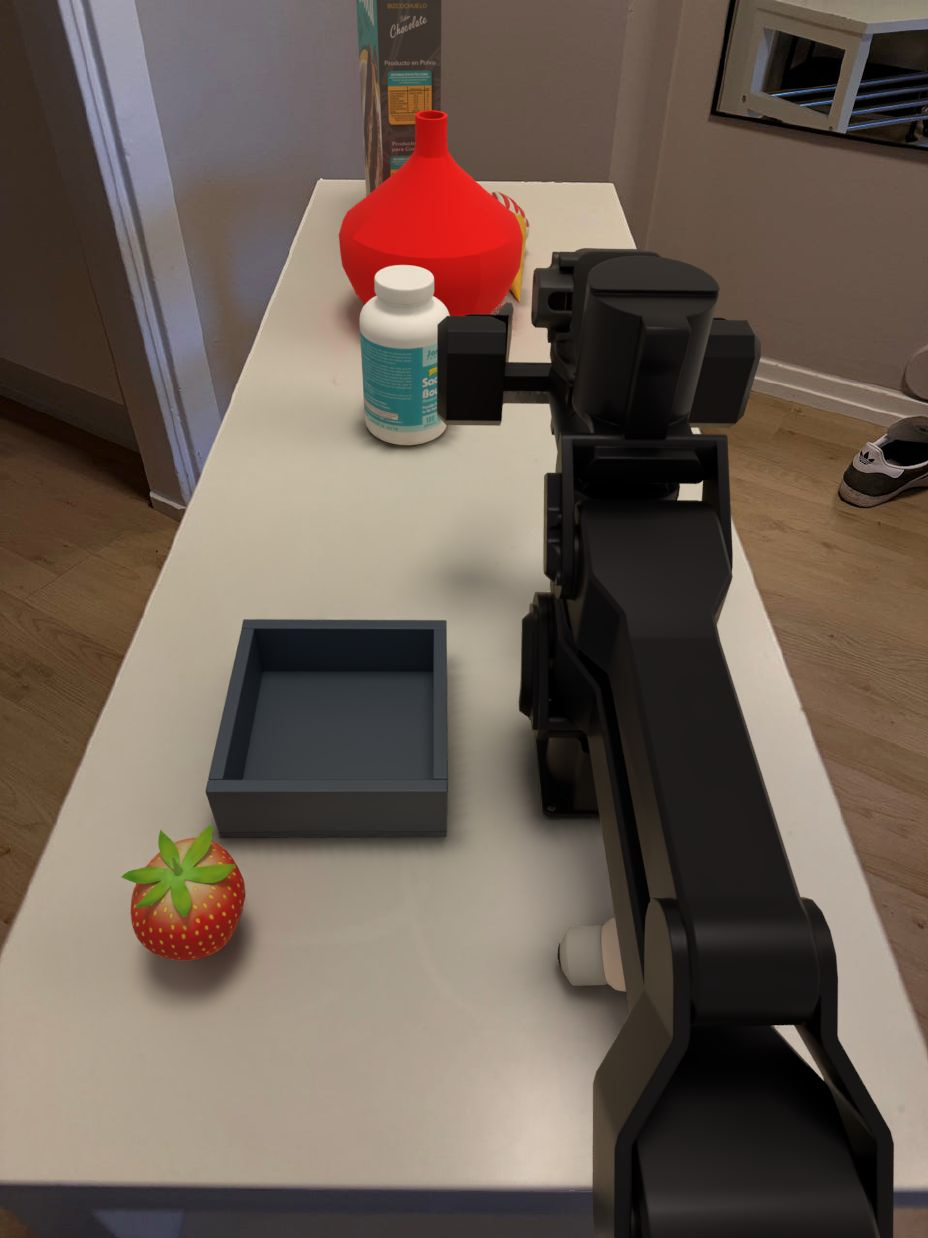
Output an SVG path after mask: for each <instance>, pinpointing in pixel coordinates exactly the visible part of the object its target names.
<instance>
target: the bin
mask: <svg viewBox="0 0 928 1238" xmlns="http://www.w3.org/2000/svg"><path fill="white" fill-rule="evenodd" d="M447 625H448V624H447V620H446V619H291V618H290V619H282V618H281V619H280V618H279V619H277V618H275V619H271V618H270V619H269V618H267V619H265V618H264V619H263V618H262V619H261V618H259V619H257V618H251V619H249V618H244V619H243V620H242V624H241V629H240V633H239V638H238V642H237V648H236V651H235V656H234V661H233V665H232V668H231V669H232V670H231V674H230V678H229V683H228V687H227V692H226V696H225V701H224V706H223V710H222V715H221V719H220V722H219V723H220V724H219V727H218V731H217V732H218V733H217V737H216V742H215V744H214V745H215V747H214V749H213V754H212V759H211V765H210V768H209V773H208V777H207V779H208V780H207V783H206V787H205V796H206V798H207V801H208V804H209V807H210V810H211V813H212V816H213V819H214V823H215V825H216V828H217V831H218V835H219V838H315V837H316V838H337V837H338V838H349V837H350V838H351V837H352V838H354V837H357V838H359V837H361V838H365V837H367V838H368V837H369V838H371V837H373V838H375V837H377V838H378V837H383V838H385V837H387V838H388V837H391V838H392V837H447V836H448V805H449V804H448V802H449V799H448V798H449V772H448V771H449V770H448V769H449V764H448V763H449V761H448V760H449V758H448V757H449V756H448V750H449V749H448V649H447V648H448V639H447V637H448V635H447V634H448V629H447V628H448V627H447Z"/></svg>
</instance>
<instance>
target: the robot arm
mask: <svg viewBox="0 0 928 1238" xmlns="http://www.w3.org/2000/svg"><path fill="white" fill-rule="evenodd" d="M720 288H721V287H720V286H719V283H718V282H717V280H716V279H715V278H714V277H713V275H711V274H710V273H708V272H706V271H705V270H704V269H702V268H699V267H697V266H696V265H693V264H690V263H688V262H685V261H681V260H678V259H672V258H668V257H663V256H661V254H659V253H657V252H655V251H650V250H645V249H640V248H596V247H583V248H579V249H576V250H574V251H552V254H551V262H550V265H549V266H547V267H536V268H535V269H534V270H533V274H532V288H531V309H530V310H531V311H530V318H531V319H530V320H531V321H530V322H531V325H532V326H533V327H534V328H536V329H538V328H539V329H546V331H547V333H546V334H547V335H546V337H547V343H548V344H550V349H549V359H550V362H536V361H535V362H534V361H533V362H531V361H530V362H528V361H527V362H526V361H509V360H510V354H511V353H510V352H511V343H512V335H513V323H514V322H513V321H514V305H513V303H512V302H505V303H504V304H503V306H502V307H501V308H500V309H499V311H497V312H496V313H491V314H467V315H465V316H446V317H445V318H444V319H443V320H442V321H441V322H440V323H439V324H438V325H437V416H438V417H439V418H440V419H441V420H442V421H443V422H444V423H445V424H446V425H447V426H486V427H487V426H490V427H491V426H496V427H497V426H498V427H500V426H501V425H502V422H503V408H504V407H503V406H504V405H505V404H512V405H513V404H519V405H522V404H525V405H527V404H530V405H548V406H549V411H550V416H551V417H550V425H549V426H550V433H551V436H554V440H555V447H556V461H555V469H554V470H555V471H554V472H546V473H545V474H544V475H543V536H542V537H543V544H542V546H543V547H542V549H543V550H542V551H543V553H542V555H543V556H542V566H543V567H542V568H543V574H544V575H545V577H546V578H547V579H548V580H549V588H550V591H535V592H534V593H533V598H532V603H531V602H530V603H529V606H528V613H527V614H526V615H525V616H524V617H523V618H522V619H521V630H520V631H521V634H520V635H521V636H520V637H521V641H520V680H519V681H520V682H519V683H520V684H519V694H518V711H519V712H520V713H521V714H523V715H524V716H525V717H526V718H528V720H529V721H530V726H531V730H532V731H533V735H534V742H535V751H536V762H537V772H538V773H537V774H538V784H539V794H540V805H541V812H542V814H543V816H544V817H546V818H549V819H599V821H600V828H601V836H602V841H603V842H602V843H603V849H604V856H605V861H606V868H607V875H608V882H609V888H610V894H611V902H612V907H613V915H614V918H615V922H616V928H617V935H618V942H619V948H620V955H621V961H622V968H623V975H624V981H625V988H626V991H625V993H626V1000H627V1001H626V1002H627V1005H628V1007H627V1008H628V1013H629V1014H628V1016H627V1018H626V1019H625V1021H624V1023H623V1024H622V1026H621V1028H620V1030H619V1031H618V1033H617V1035H616V1037H615V1038H614V1040H613V1042H612V1043H611V1045H610V1047H609V1049H608V1051H607V1052H606V1054H605V1056H604V1057H603V1059H602V1060H601V1063H600V1064H599V1066H598V1068H597V1070H596V1072H595V1075H594V1078H593V1082H592V1187H591V1188H592V1191H591V1192H592V1219H593V1232H594V1238H894V1210H895V1209H894V1208H895V1207H894V1206H895V1205H894V1198H895V1197H894V1194H895V1193H894V1192H895V1191H894V1190H895V1187H894V1186H895V1177H894V1176H895V1142H894V1138H893V1135H892V1131H891V1129H890V1127H889V1125H888V1124H887V1122H886V1120H885V1118H884V1116H883V1115H882V1113H881V1111H880V1109H879V1108H878V1105H877V1104H876V1102H875V1101H874V1099H873V1097H872V1095H871V1093H870V1092H869V1090H868V1089H867V1087H866V1085H865V1083H864V1082H863V1080H862V1078H861V1076H860V1074H859V1073H858V1070H857V1069H856V1067H855V1066H854V1064H853V1062H852V1061H851V1059H850V1057H849V1055H848V1053H847V1051H846V1050H845V1048H844V1046H843V1045H842V1043H841V1041H840V1039H839V974H838V961H837V952H836V948H835V944H834V939H833V936H832V932H831V931H832V930H831V929H830V926H829V924H828V922H827V919H826V917H825V915H824V912H823V911H822V909H821V908H820V907H819V905H818V904H817V903H816V902H815V901H814V900H813V899H812V898H809V897H804V896H801V894H800V891H799V887H798V885H797V881H796V878H795V875H794V872H793V869H792V866H791V863H790V859H789V857H788V856H789V855H788V853H787V849H786V847H785V843H784V840H783V837H782V834H781V830H780V827H779V825H778V821H777V818H776V814H775V811H774V808H773V804H772V802H771V799H770V796H769V795H770V794H769V792H768V789H767V786H766V783H765V779H764V776H763V772H762V770H761V767H760V763H759V760H758V757H757V754H756V750H755V747H754V744H753V741H752V738H751V734H750V732H749V728H748V725H747V722H746V719H745V715H744V713H743V709H742V706H741V702H740V699H739V696H738V692H737V689H736V687H735V684H734V680H733V677H732V673H731V671H730V668H729V665H728V662H727V658H726V655H725V651H724V648H723V646H722V642H721V638H720V634H719V629H718V623H719V620H720V616H721V615H722V614H721V613H722V610H723V607H724V605H725V601H726V599H727V596H728V592H729V589H730V587H731V584H732V581H733V567H734V564H733V561H734V559H733V558H734V554H733V553H734V552H733V551H734V550H733V530H732V529H733V528H732V527H733V526H732V507H731V486H730V485H731V483H730V462H729V461H730V460H729V440H728V439H729V438H728V435H727V434H726V433H694V432H693V429H730V428H732V427H733V426H734V425H736V424H737V423H738V422H739V421H740V420H741V419H742V418H743V417H744V415H745V413H746V410H747V405H748V402H749V399H750V396H751V391H752V388H753V385H754V381H755V378H756V374H757V371H758V368H759V364H760V361H761V357H762V342H761V340H760V338H759V336H758V334H757V333H756V330H755V329H754V328H753V326H752V325H751V324H750V323H749V321H748V320H747V319H727V318H725V317H714V315H715V312H716V308H717V304H718V300H719V295H720V294H719V293H720ZM701 483H702V486H701V489H702V490H701V500H697V499H679V496H680V491H681V485H699V484H701ZM550 807H551V808H553V810H551V809H549V808H550ZM775 1026H794V1028H795V1030H796V1031H797V1034H798V1035H799V1037H800V1039H801V1041H802V1042H803V1045H804V1046H805V1047H806V1049H807V1051H808V1053H809V1054H810V1056H811V1058H812V1060H813V1061H814V1063H815V1066H816V1067H817V1068H818V1070H819V1072H820V1074H821V1076H822V1077H821V1076H820V1075H819V1073H817V1072H816V1070H814V1068H813V1067H812V1066H811V1065H810V1064H809V1063H808V1062H807V1061H806V1060H805V1059H804V1057H803V1056H801V1054H799V1052H798V1051H797V1050H796V1049H795V1048H794V1046H792V1045H791V1044H790V1042H789V1041H788V1040H787V1039H786V1038H785V1037H784V1036H783V1035H782V1033H780V1032H779V1030H778V1029H777V1028H776V1027H775Z"/></svg>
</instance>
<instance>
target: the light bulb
mask: <svg viewBox="0 0 928 1238" xmlns="http://www.w3.org/2000/svg"><path fill="white" fill-rule="evenodd" d="M556 960H557V961H558V966H559V968H560V970H561V971H562V972H563V974H564V975H565V977H566V979H567V980H568V981H569V983H570V984H571V985H572V986H575V987H576V986H580V987H581V986H606V985H608V986H610V987H612V988H613V989H614V990H615V991H619V992H626V988H625V981H624V975H623V968H622V961H621V955H620V948H619V942H618V935H617V928H616V922H615V917H614V918H610V919H608V920H607V921H606V922H605V923H604V924H603V926H602V925H600V924H599V925H598V924H597V925H596V924H595V925H579V926H578V925H577V926H568V927H567V928H566V930H565V932H564V934H563V937H562V938H561V941H560V942H559V943H558V947H557V953H556Z"/></svg>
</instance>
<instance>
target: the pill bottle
mask: <svg viewBox="0 0 928 1238" xmlns="http://www.w3.org/2000/svg"><path fill="white" fill-rule="evenodd" d="M374 279H375V290H374V291H375V293H376V295H377V296H375V297H373V298H372V299H370V300H369V301H368V302H367V303H366V304H364V305H363V306H362V308H361V310H360V314H359V320H358V321H359V338H360V357H361V375H362V393H363V394H362V395H363V412H364V422H365V425H366V427H367V429H368V431H369V432H370V433H371V434H372V435H373V436H374V437H376V438H377V439H379V440H381V441H383V442H386V443H389V444H393V445H400V446H415V445H422V444H425V443H428V442H430V441H433V440H435V439H436V438H438V437H440V436H441V435H442V434H443V433H444V432H445V431H446V428H447V427H448V425H446V424H445V423H444V422H443V421H442V420H441V419H440V418H439V417H438V416H437V325H438V324H439V323H440V322H441V321H442V320H443V319H444V318H445V317H446V316H450V314H449V312H448V310H447V308H446V306H445V305H444V304H443V303H442V302H441V301H440V300H438V299H437V298H435V297H434V296H433V294H434V276H433V274H432V273H431V272H430V271H428V270H426V269H424V268H421V267H417V266H411V265H396V266H390V267H386V268H383V269H381V270H379V271H378V272H377V273H376V275H375V278H374Z"/></svg>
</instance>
